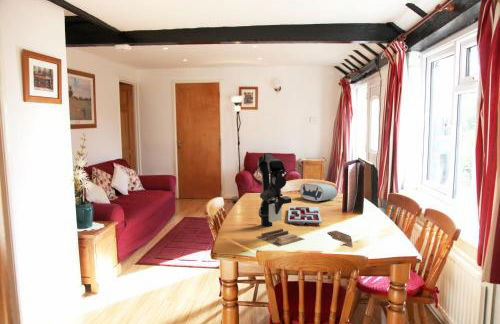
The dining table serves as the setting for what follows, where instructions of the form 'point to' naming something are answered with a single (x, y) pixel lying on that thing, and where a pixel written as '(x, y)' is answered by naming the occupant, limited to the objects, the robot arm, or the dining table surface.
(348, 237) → the wooden fragment
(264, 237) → the walnut rack
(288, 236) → the upper oak offcut
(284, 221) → the dining table surface
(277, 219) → the taupe rectangular block
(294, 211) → the maze game
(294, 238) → the lower oak offcut
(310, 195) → the grey rounded oval block
